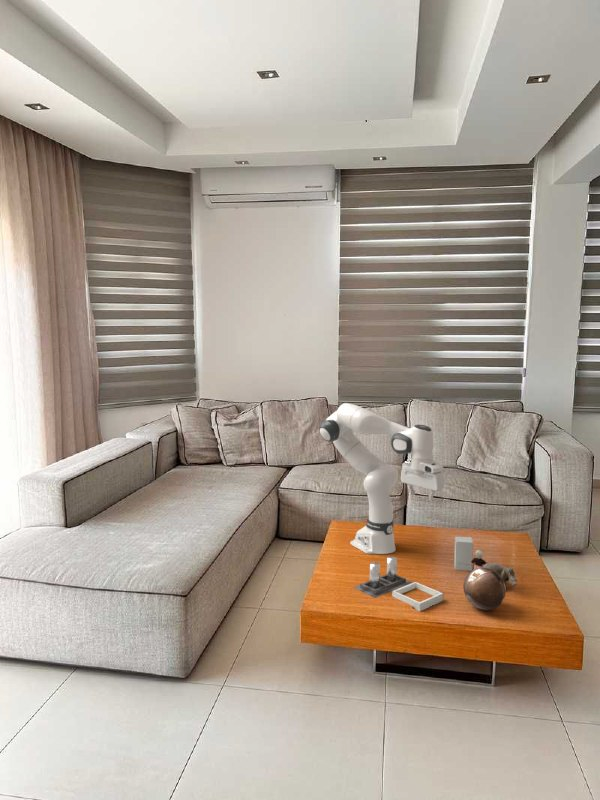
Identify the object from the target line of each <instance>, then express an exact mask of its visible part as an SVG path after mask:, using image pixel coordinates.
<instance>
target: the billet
mask: <svg viewBox="0 0 600 800" xmlns="http://www.w3.org/2000/svg"><path fill="white" fill-rule="evenodd" d="M397 571H398V558H397V557H396V556H393V555H392V556H391V555H389V556H386V574H387V580H388V581H390V582H395V581H397V575H398V574H397V573H398V572H397Z"/></svg>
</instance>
